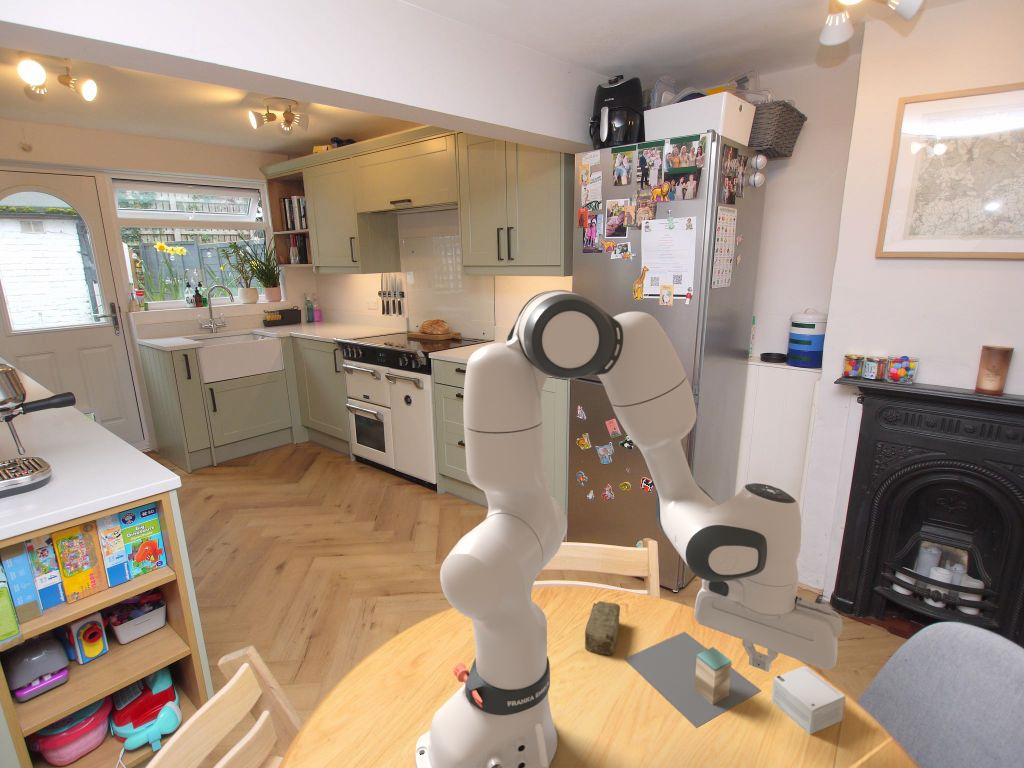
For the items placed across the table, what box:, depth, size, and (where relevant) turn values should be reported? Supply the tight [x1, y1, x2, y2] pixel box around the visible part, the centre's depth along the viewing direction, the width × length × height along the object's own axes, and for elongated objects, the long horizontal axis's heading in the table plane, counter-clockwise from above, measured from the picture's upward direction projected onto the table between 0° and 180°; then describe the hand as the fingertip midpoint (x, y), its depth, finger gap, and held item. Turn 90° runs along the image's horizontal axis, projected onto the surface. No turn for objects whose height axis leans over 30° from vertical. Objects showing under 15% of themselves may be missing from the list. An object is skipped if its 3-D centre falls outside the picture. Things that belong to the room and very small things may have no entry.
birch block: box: [695, 646, 732, 705], centre depth 92 cm, size 4×4×7 cm
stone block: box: [584, 600, 621, 657], centre depth 108 cm, size 6×12×5 cm, turn 162°
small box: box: [771, 665, 846, 735], centre depth 89 cm, size 8×8×5 cm
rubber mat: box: [623, 631, 762, 729], centre depth 97 cm, size 16×18×1 cm
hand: (759, 666), depth 84 cm, fingers closed
